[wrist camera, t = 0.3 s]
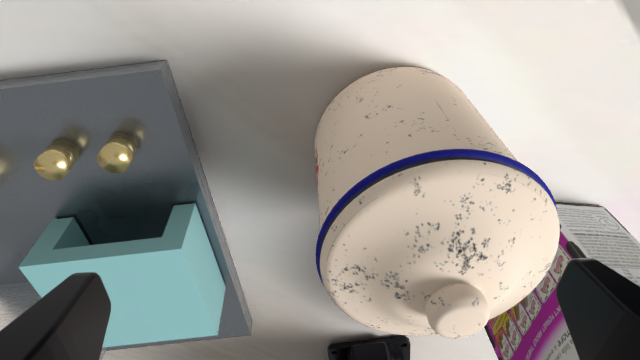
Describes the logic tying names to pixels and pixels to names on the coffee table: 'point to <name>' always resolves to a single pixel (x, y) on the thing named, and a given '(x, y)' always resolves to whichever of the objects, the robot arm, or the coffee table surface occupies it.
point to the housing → (139, 277)
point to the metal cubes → (104, 168)
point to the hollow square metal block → (19, 303)
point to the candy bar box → (541, 303)
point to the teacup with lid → (425, 209)
